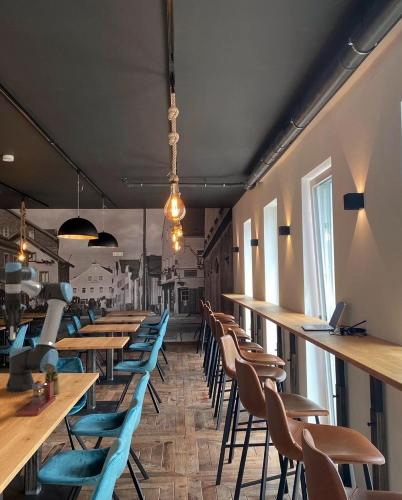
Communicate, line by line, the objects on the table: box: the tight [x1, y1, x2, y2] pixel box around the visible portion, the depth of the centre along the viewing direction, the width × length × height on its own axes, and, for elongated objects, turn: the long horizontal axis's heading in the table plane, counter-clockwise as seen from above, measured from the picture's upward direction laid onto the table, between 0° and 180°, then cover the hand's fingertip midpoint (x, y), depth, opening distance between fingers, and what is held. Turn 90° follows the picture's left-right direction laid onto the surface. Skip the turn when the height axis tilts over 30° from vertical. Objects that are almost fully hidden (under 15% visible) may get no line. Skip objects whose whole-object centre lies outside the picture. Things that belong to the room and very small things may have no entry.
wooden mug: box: [42, 363, 61, 396], centre depth 232 cm, size 9×14×18 cm, turn 8°
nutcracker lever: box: [22, 383, 46, 391], centre depth 208 cm, size 23×4×2 cm, turn 1°
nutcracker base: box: [15, 380, 57, 417], centre depth 210 cm, size 25×10×10 cm, turn 1°
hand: (12, 339), depth 218 cm, fingers closed
